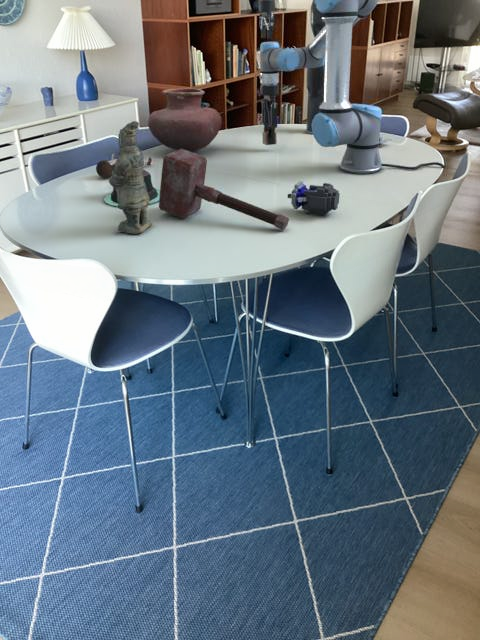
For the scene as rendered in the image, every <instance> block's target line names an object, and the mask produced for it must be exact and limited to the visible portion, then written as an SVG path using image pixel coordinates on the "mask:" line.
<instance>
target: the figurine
mask: <svg viewBox="0 0 480 640" xmlns="http://www.w3.org/2000/svg"><path fill="white" fill-rule="evenodd" d="M114 157H115V153H112V154H111V160H105V159H103V160H99V161H98V162H97V163H96V166H95V172H96V174H97V175H98V177H100V178H102V179H108V178H111V176H112V173H113V172H114V170H115V164H116V162H114ZM152 160H153V159H152V157H151V156H149V157H148V160H147V161H146V162H144V166H151V165H152Z"/></svg>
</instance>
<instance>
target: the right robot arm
mask: <svg viewBox="0 0 480 640" xmlns="http://www.w3.org/2000/svg"><path fill="white" fill-rule="evenodd" d="M379 1H380V0H315V5H317V6H316V8H317V9H318V10H319V11H320V12H322V17H321V18H322V20H323V21H324V22H325V24H326V25H325V26H324V28H323V29H322V30H321V31H320V32H319V33H318V35H317V36H316V37H315V38H313V39H312V40H311V41H310V43H309V44H308V45H307V46H305V47H304V46H303V47H292V48H291V47H289V48H280V43H279V42H278V41H264V42H261V44H260V47H259V69H260V75H259V80H260V86H259V91H260V92H259V93H260V95H261V96H263V98H261V100H260V101H261V124H262V125H263V132H267V131H268V145H267V146H271V145H272V144H273V145H276V144H275V132H276V128H278V109H279V102H276V96H277V95H279V93H280V87H279V83H280V71H282V72H292V71H295V70H302V69H307V68H317V67H321V66H323V65H324V64H325V74H324V101H323V103H322V104H321V105H320V106H319V114H317V115H315V117H314V119H313V121H312V132H313V134H312V135H313V138H314V139H315V141H316V143H317V144H318V145H319V146H321V147H323V148H330V147H331V148H335V147H338V146H343V145H346V149H345V151H344V154H343V156H342V158H341V162H340V170H341V171H343V172H345V173H349V174H355V175H356V174H357V175H369V174H370V175H371V174H376V173H378V172H380V171H382V167H385V168H395V169H403V170H411V171H412V170H418V169H420V168H421V167H428V166H439V167H441V168H442V169H447V167H446V166H445V165H444V164H443V163H442V162H437V161H434V162H433V161H432V162H427V163H425V162H424V163H420V164H418V165H415V166H405V165H399V164H392V163H391V164H390V163H382V161H381V155H380V150H379V147H380V144H379V137H380V136H381V129H382V128H381V127H382V120H383V118H382V115H383V114H382V113H383V112H382V108H381V107H379V106H377V105H372V104H363V103H351V102H350V100H349V99H350V80H351V79H350V77H351V58H352V39H353V27H354V26H356V24H357V23H358V22H359V21H360V20H362V19H365V18H367V17H368V16H369V15H370V14H371V13H372V12H373V10H374V9H375V8H376V7H377V5H378V2H379ZM273 145H272V146H273Z"/></svg>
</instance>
